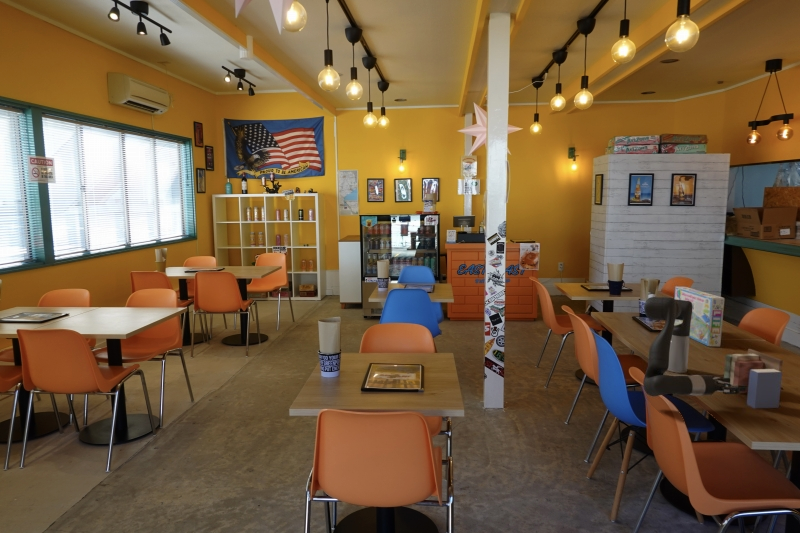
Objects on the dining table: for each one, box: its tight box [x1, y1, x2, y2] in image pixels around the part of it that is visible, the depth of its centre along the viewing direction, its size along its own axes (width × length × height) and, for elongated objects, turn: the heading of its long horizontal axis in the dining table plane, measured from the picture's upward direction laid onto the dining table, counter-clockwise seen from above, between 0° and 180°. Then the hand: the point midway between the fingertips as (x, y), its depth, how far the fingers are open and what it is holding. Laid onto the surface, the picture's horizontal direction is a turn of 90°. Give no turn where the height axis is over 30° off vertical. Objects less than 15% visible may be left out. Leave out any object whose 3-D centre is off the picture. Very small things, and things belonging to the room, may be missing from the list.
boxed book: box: [746, 369, 783, 409], centre depth 203 cm, size 10×4×14 cm, turn 96°
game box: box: [673, 286, 725, 347], centre depth 306 cm, size 40×7×27 cm, turn 179°
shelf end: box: [723, 348, 784, 402], centre depth 217 cm, size 12×18×16 cm, turn 6°
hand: (737, 384), depth 202 cm, fingers open, 8 cm apart
